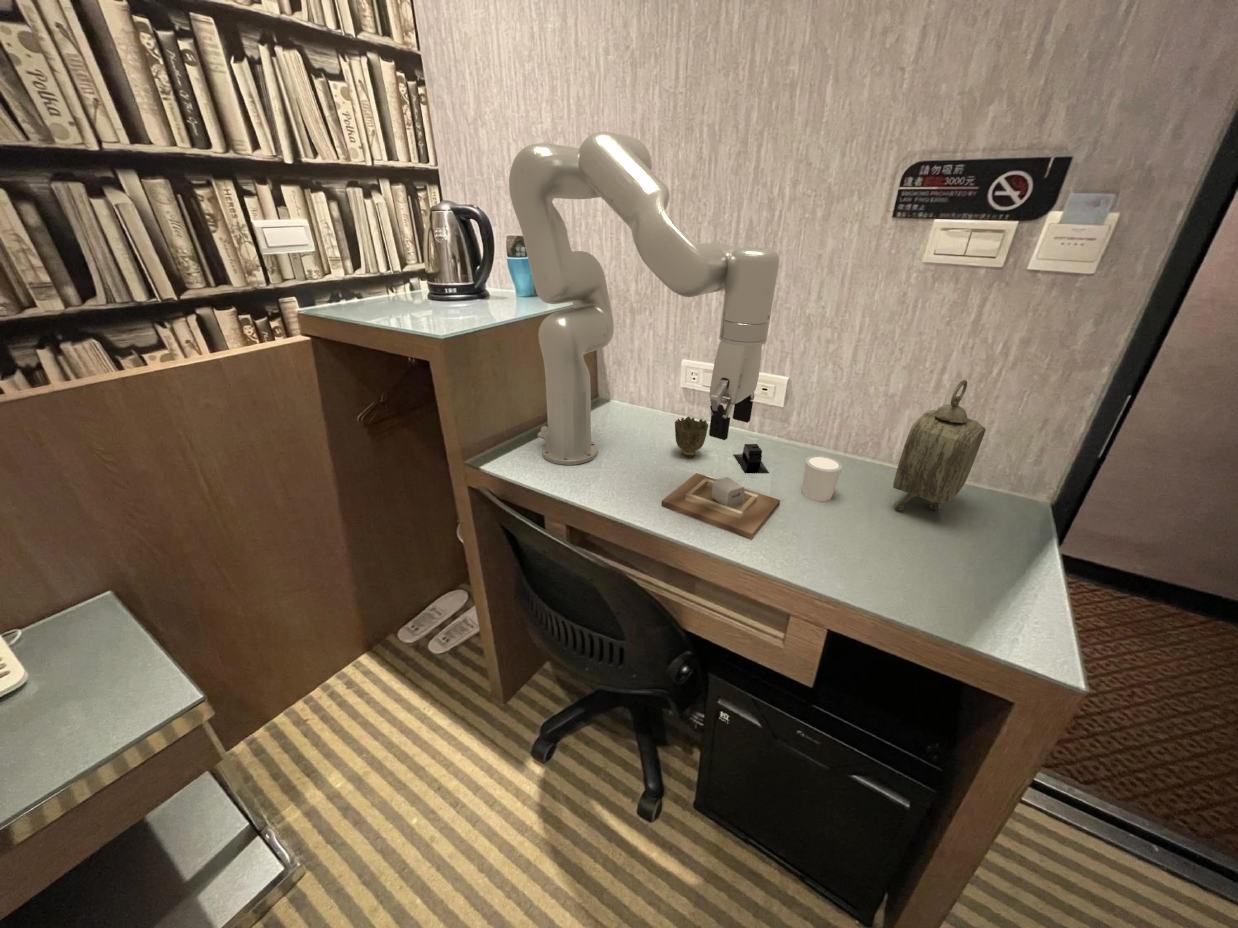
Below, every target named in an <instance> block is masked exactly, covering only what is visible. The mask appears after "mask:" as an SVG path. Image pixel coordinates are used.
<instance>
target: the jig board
mask: <svg viewBox="0 0 1238 928" xmlns="http://www.w3.org/2000/svg"><path fill="white" fill-rule="evenodd" d="M715 480H716V478H713V477H709V476H706V475H704V474H701V473H698V472H695V473H694V474H693V475H692V476H691V477H689V478H687V480H685V481H684V482H683V483H682V484H681V485H679V486H678V487H677V488H675V490H673V491H672V492H670V494H668V495H667V496H666V497H664V498H663V499H662V500H661V507H663V508H665V509H668V510H671V511H674V512H676V513H679V514H681V515H684V516H687V517H689V518H692V519H694V520H697V521H701V522H703V523H706V524H709V525H711V526H712V527H713V526H714V527H716V528H719V529H721V530H725V531H727V532H730V533H733V534H735V535H738V536H741V537H743V538H746V539H748V540H752V539H753V538H754V537H755V536H756V535H757V533H758V532H759V531H760V530H761V528H762V527H763V526H764V525H765V523H766V522H767V521H768V520H769V519H770V518H771V516H772V515H773V514H774V513H775V512H776V510H777V509H778V508H779V507H780V503H781V499H779V498H775V497H772V496H770V495H769V496H768V495H766V494H763V493H760V492H756V491H753V490H750V489H747V488H745V492H744V499H743V503H742V505H740V506H738V507H734V508H730V507H727V506H725V505H722V504H720V503H718V502H717V501H716V500H714V499H713V498H712V488H711V487H710V486H709V485H710V483H712V484H713V483H714V481H715ZM708 482H710V483H709V485H708Z"/></svg>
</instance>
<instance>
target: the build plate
mask: <svg viewBox="0 0 1238 928" xmlns="http://www.w3.org/2000/svg"><path fill="white" fill-rule="evenodd" d="M762 453H763V450H762V448H761V447H760V445H758V443H744V446H743V450H742V453H740V454H739V453H736V454H732V456H733V457H734V459H735V460H736V462H737V461H738V462H737V464H738V465H739V464H740V465H739V467H740V466H741V467H740V468H741V470H742V471H743V473H744V474H770V472H769V470H768V469H767V467H766V466H765V464H764V462H762V458H763V455H762Z"/></svg>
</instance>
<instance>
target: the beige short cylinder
mask: <svg viewBox="0 0 1238 928" xmlns="http://www.w3.org/2000/svg"><path fill="white" fill-rule="evenodd" d="M842 470H843V464H842V463H841V462H840V461H839V460H836V459H834V458H832V457H829V456H824V455H811V456H807V458H805V460H804V471H803V478H802V479H803V480H802V489H801V492H802V494H803V495H804V497H806V498H808V499H809V500H813V501H816V502H817V501H818V502H826V501H830V500H831V499H832V497H833V495H834V491H835V489H836V486H837V484H838V481H839V478H840V476H841V473H842Z"/></svg>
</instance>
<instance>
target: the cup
mask: <svg viewBox="0 0 1238 928" xmlns="http://www.w3.org/2000/svg"><path fill="white" fill-rule="evenodd" d="M708 429H709V423H708V421H707V420H703V419H702V418H700V419H699V420H695V417H694V416H693V417H690V416H687V417H686V418H685V419H684V417H681V419H679V418H677V419H676V420H675V421H674V432H675V433H674V435H675V443H676V446H677V447H678V448H679V449H681V450H680V454H681V455H682V456H683V457H685V458H694V457H696V455H697V453H698V451H699V450H700V449H702V447H703V446H704V444H705V442H706V441H705V440H706V437H707V433H708Z"/></svg>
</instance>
